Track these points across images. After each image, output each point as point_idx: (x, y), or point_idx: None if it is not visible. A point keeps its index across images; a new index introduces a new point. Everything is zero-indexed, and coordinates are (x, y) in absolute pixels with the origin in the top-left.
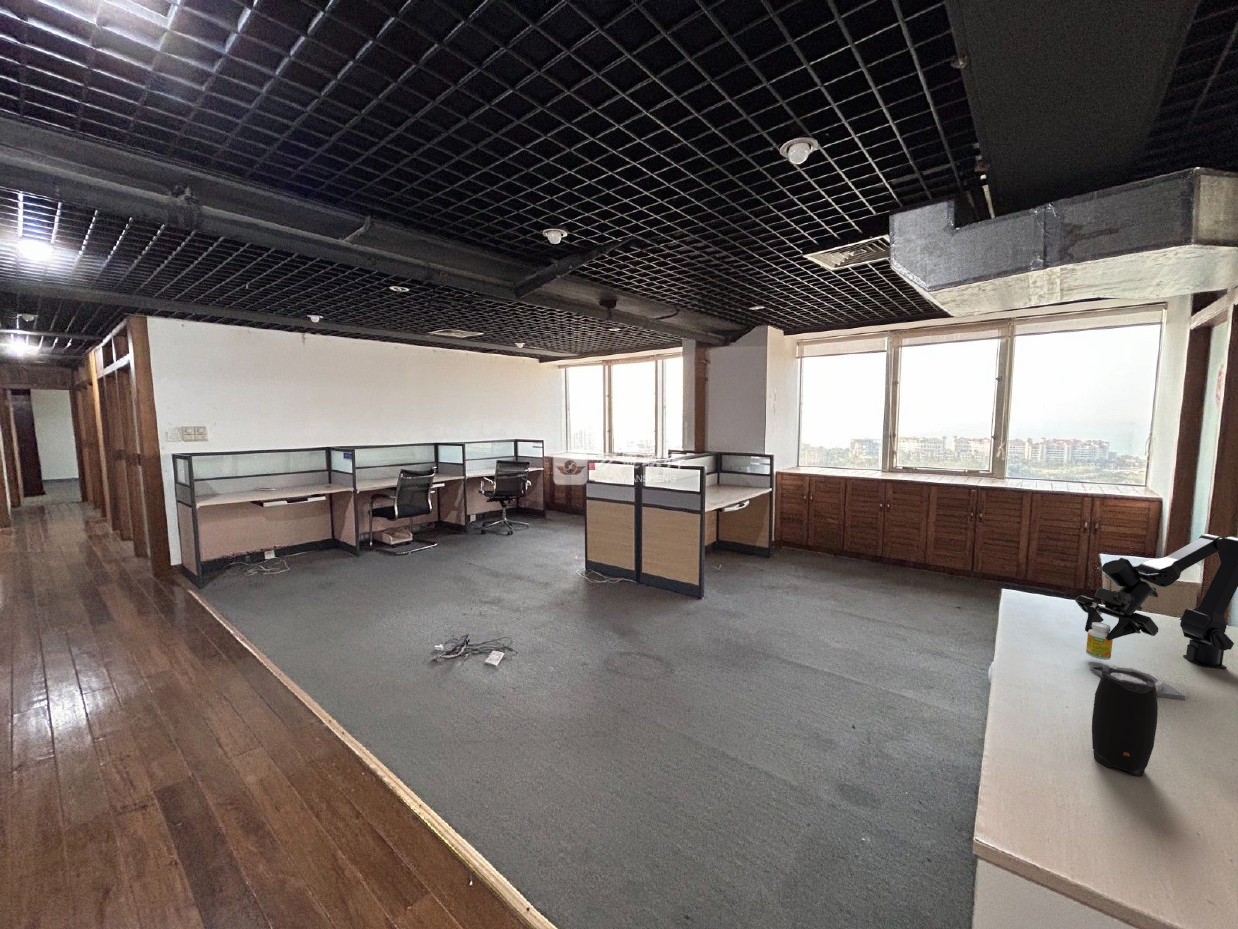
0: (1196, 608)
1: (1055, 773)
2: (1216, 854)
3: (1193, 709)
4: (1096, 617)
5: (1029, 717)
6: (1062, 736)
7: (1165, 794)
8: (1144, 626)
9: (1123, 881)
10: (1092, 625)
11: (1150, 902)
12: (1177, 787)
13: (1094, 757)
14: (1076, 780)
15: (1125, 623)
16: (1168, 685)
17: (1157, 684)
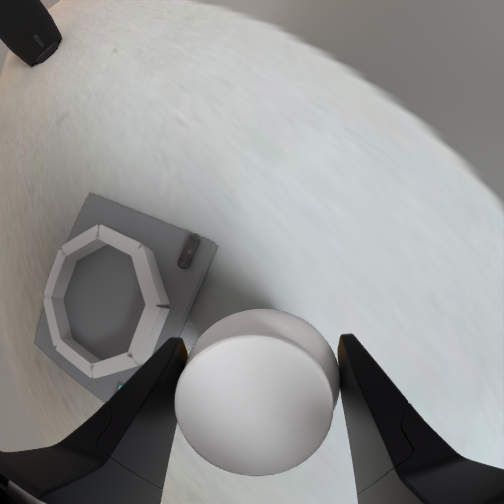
0: None
1: (76, 11)
2: (6, 65)
3: (19, 301)
4: (379, 494)
5: (126, 10)
6: (90, 26)
7: (21, 67)
8: (3, 488)
9: None
10: (295, 343)
11: None
12: (14, 81)
13: (61, 38)
14: (65, 20)
15: (32, 450)
16: (72, 376)
17: (46, 298)
